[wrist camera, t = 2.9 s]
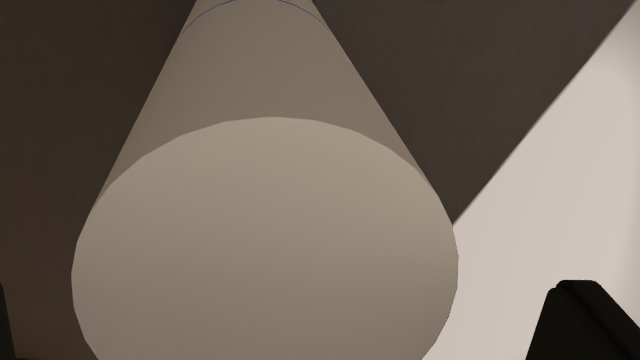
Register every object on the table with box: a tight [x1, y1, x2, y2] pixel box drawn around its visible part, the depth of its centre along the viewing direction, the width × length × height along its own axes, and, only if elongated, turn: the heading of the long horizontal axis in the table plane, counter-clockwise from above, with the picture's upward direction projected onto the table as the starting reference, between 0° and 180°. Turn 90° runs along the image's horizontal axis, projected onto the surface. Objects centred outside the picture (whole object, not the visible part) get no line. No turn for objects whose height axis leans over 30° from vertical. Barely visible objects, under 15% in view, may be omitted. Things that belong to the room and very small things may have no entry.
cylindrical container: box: [71, 0, 458, 360], centre depth 22 cm, size 7×7×25 cm
